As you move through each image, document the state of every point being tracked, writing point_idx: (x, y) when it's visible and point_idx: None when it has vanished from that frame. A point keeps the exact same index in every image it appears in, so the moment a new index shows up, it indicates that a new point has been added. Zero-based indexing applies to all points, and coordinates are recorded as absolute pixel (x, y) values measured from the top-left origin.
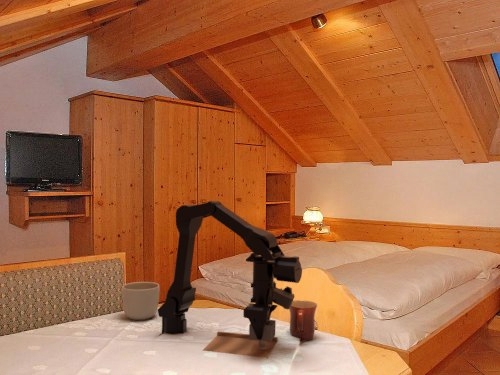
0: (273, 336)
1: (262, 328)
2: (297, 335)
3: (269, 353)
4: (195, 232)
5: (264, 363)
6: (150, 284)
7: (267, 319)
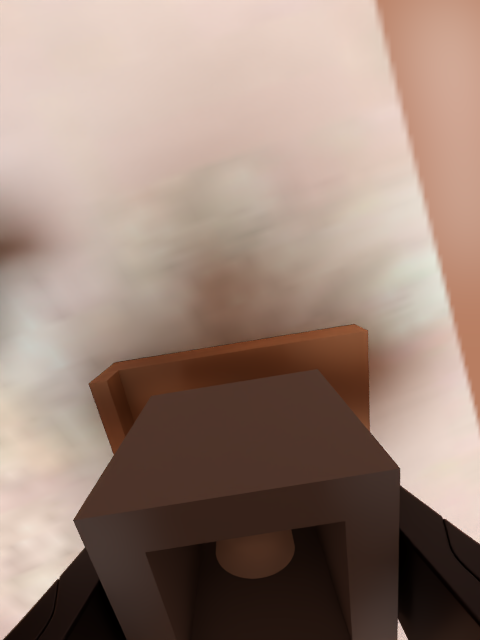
0: (223, 389)
1: (451, 528)
2: None
3: (306, 344)
4: None
5: (370, 333)
6: None
7: (102, 605)
